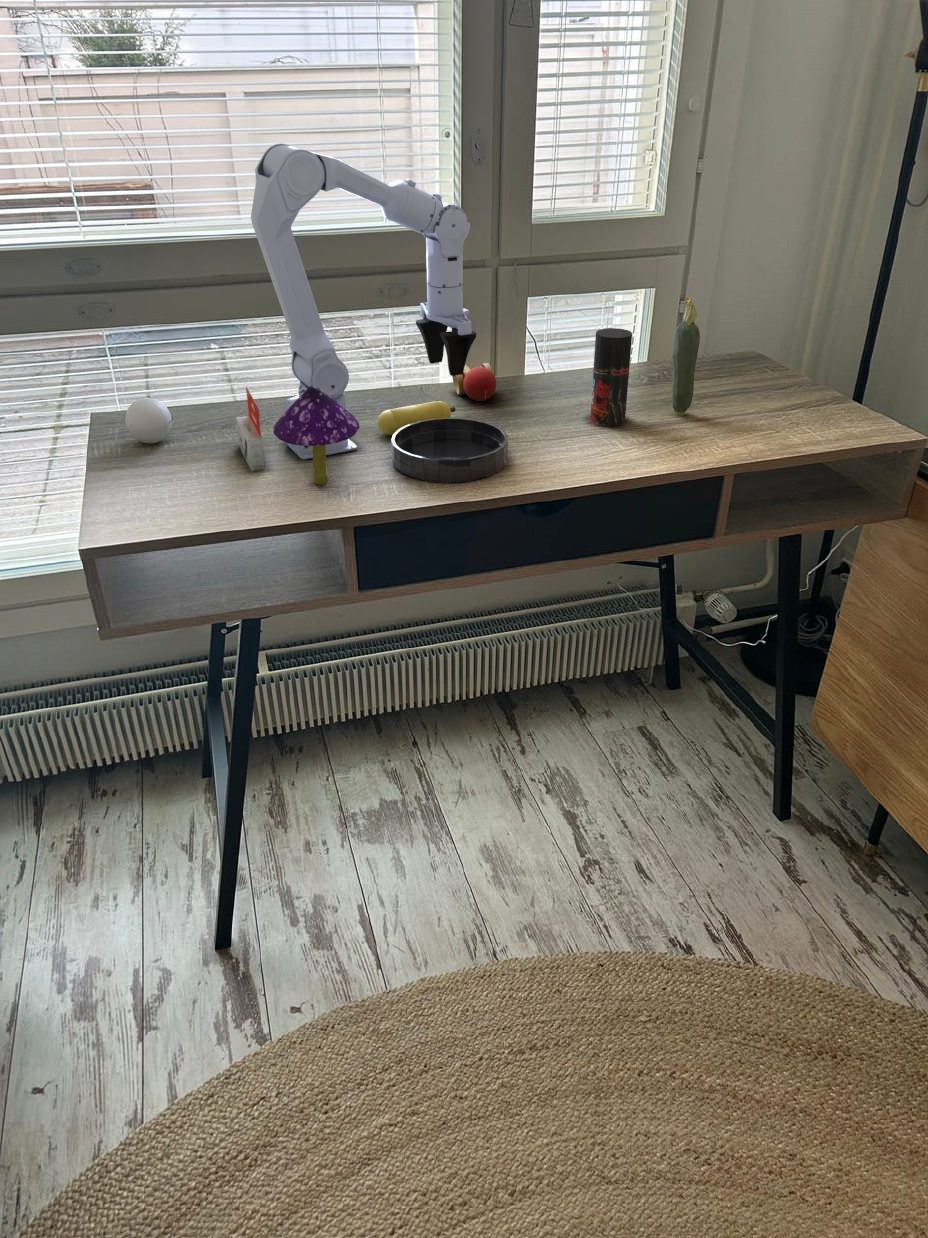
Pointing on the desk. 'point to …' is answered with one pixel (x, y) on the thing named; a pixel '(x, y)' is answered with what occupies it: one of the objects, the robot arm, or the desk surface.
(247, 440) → the ink box
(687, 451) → the desk surface
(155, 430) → the white egg
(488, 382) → the kendama
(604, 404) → the deodorant
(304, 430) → the decorative mushroom
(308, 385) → the robot arm
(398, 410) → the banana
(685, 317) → the vegetable
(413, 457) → the pan
